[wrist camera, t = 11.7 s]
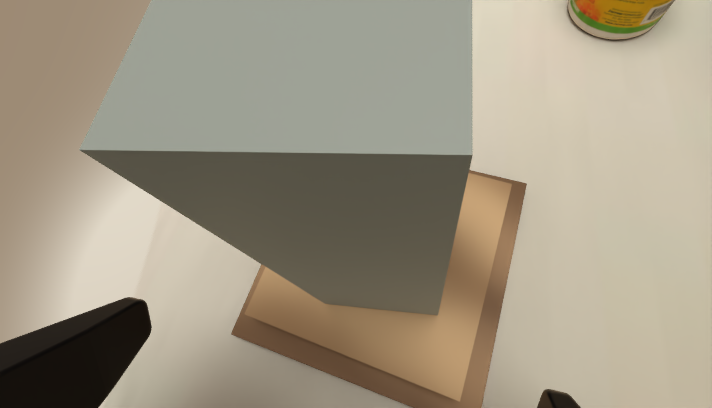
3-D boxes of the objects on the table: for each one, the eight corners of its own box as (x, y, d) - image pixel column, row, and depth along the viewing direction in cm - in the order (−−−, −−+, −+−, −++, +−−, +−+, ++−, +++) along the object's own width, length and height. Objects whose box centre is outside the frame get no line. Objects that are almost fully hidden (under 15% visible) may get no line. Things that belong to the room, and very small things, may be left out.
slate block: (438, 315, 15) (473, 155, 4) (324, 303, 17) (79, 149, 5) (441, 207, 17) (471, -119, 6) (340, 202, 18) (190, -81, 7)
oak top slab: (455, 397, 16) (459, 401, 14) (256, 317, 18) (244, 314, 17) (504, 196, 19) (512, 184, 18) (329, 150, 21) (324, 136, 20)
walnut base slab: (470, 426, 17) (476, 432, 15) (243, 335, 19) (231, 334, 18) (518, 195, 21) (526, 183, 19) (323, 147, 23) (318, 134, 22)
